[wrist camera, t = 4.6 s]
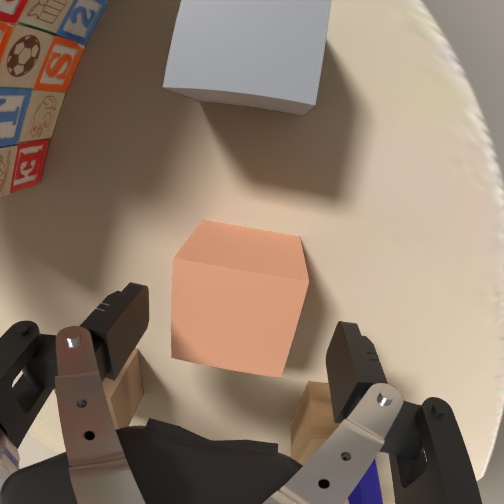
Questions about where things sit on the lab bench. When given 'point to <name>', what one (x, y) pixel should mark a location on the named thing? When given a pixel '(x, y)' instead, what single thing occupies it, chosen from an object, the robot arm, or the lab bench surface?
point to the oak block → (312, 422)
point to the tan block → (124, 391)
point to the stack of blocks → (36, 78)
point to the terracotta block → (237, 298)
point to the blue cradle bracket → (367, 488)
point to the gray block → (249, 52)
